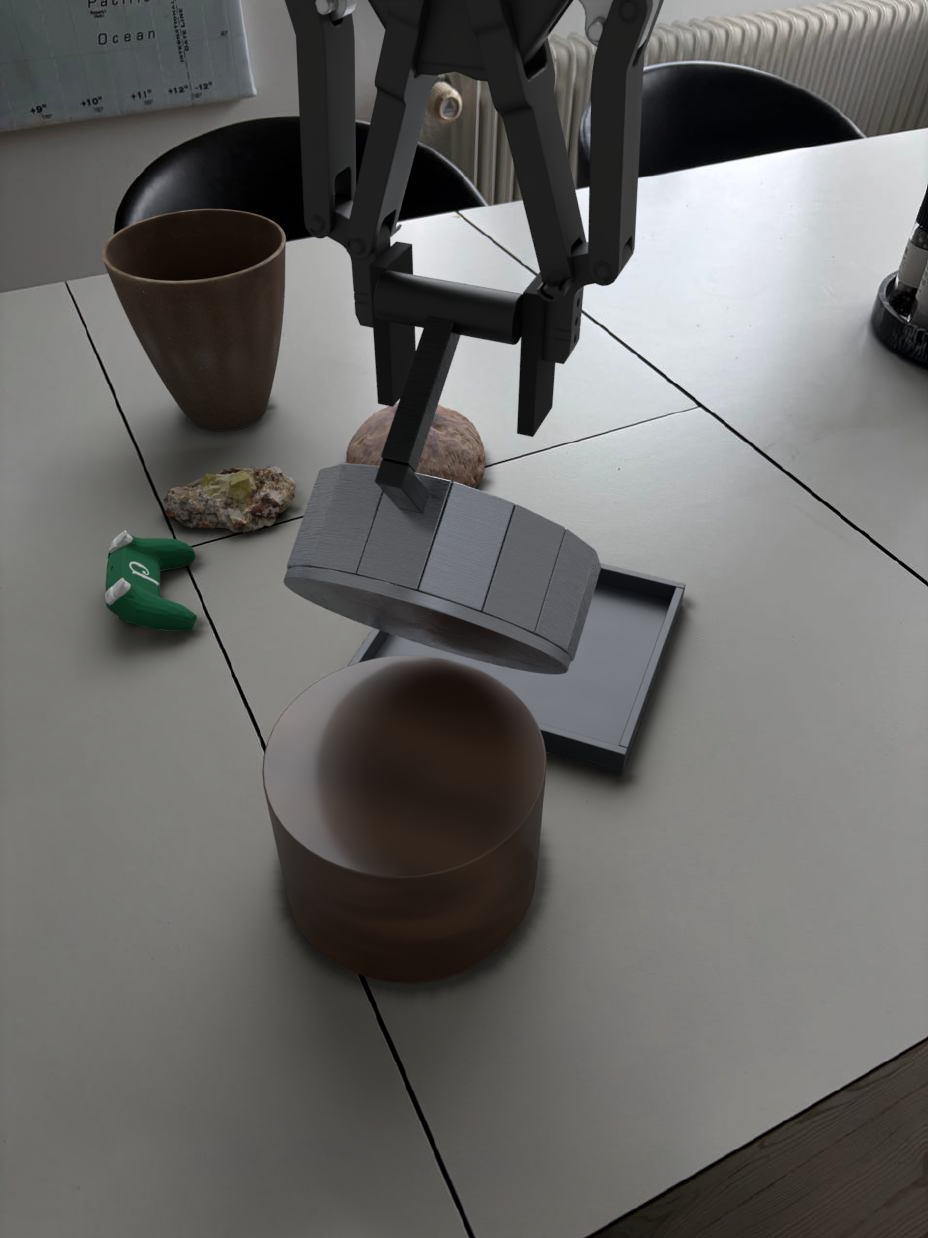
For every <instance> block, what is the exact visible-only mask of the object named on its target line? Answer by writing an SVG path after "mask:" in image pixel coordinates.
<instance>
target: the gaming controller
mask: <svg viewBox="0 0 928 1238" xmlns="http://www.w3.org/2000/svg"><path fill="white" fill-rule="evenodd" d="M195 558H196V553H195V550H194V548H193V547H192V546H191V545H190V544H188V543H187V542H186V541H183V540H180V539H177V538H169V537H139V536H135V535H133V534H129V533H128V531H127V530H125V529H124V531H122V532H121V533H119V534H118V535H117V536H116V537H115V538H113V540H112V541H111V542H110V545H109V547H108V555H107V564H106V573H105V593H104V603H105V607H106V608H107V610H109V611H110V612H111V613H112V614H114V616H116V617H117V618H118V620H120V621H122V622H124V623H126V622H127V623H129V624H132V625H134V626H135V625H136V626H138V627H143V628H148V629H152V630H158V631H159V630H160V631H166V632H167V631H169V632H187V631H188V632H189V631H193V630H194V627H195V624H196V622H197V620H198V617H197V616H198V615H197V614H195V612H193V610H190V609H189V608H187V607H186V606H184V605H183V604H181V603H178V602H175V601H173V600H170V599H168V598H164V597H162V596H161V571H166V570H174V569H181V568H184V567H187V566H190V565H191V564H193V562H194V560H195Z"/></svg>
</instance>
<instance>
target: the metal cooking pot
mask: <svg viewBox="0 0 928 1238" xmlns="http://www.w3.org/2000/svg"><path fill="white" fill-rule="evenodd" d="M522 304H523V293H520V292H514V291H509V290H503V289H497V288H491V287H486V286H482V285H481V286H480V285H475V284H469V283H462V282H459V281H451V280H445V279H440V278H434V277H428V276H423V275H417V274H413V275H412V274H406V273H400V272H394V271H389V270H387V271H384V272H383V273H382V274H381V276H380V277H379V279H378V282H377V285H376V289H375V294H374V309H375V313H376V316H377V317H378V318H379V319H380V320H384V321H389V322H394V323H399V324H405V325H410V326H415V328H416V327H417V328H421V329H422V332H421V335H420V337H419V341H418V343H417V345H416V346H417V347H416V352H415V355H414V358H413V361H412V364H411V367H410V370H409V373H408V376H407V379H406V382H405V385H404V388H403V391H402V394H401V397H400V399H399V400H398V402H397V403H398V406H397V409H396V412H395V415H394V418H393V421H392V424H391V427H390V430H389V433H388V436H387V439H386V442H385V445H384V448H383V451H382V454H381V457H382V459H383V460H382V461H381V464H380V466H373V465H361V464H348V463H347V462H345V463H339V464H337V465H333V466H330V467H325V468H321V469H319V470H318V473H317V475H316V479H315V482H314V485H313V488H312V490H311V493H310V497H309V500H308V502H307V505H306V508H305V510H304V514H303V517H302V520H301V522H300V525H299V529H298V532H297V535H296V538H295V540H294V544H293V546H292V549H291V552H290V555H289V558H288V560H287V564H286V572H285V576H284V578H283V581H282V582H283V584H284V586H285V587H286V588H287V589H288V590H289V591H290V592H293V593H294V594H296V595H297V596H299V597H301V598H302V599H304V600H306V601H308V602H310V603H312V604H314V605H316V606H319V607H320V608H322V609H325V610H327V611H330V612H332V613H334V614H337V615H339V616H342V617H343V618H345V619H346V618H347V619H349V620H351V621H353V622H357V623H359V624H362V625H364V626H367V627H370V628H372V629H373V628H375V629H378V630H381V631H383V632H386V633H389V634H392V635H395V636H398V637H401V638H404V639H407V640H410V641H413V642H416V643H419V644H422V645H425V646H429V647H432V648H435V649H439V650H442V651H445V652H449V653H452V654H456V655H459V656H463V657H467V658H470V659H474V660H478V661H482V662H486V663H490V664H494V665H498V666H502V667H507V668H512V669H517V670H522V671H527V672H534V673H541V674H554V675H556V674H564V673H566V672H567V671H568V669H569V666H570V662H571V661H573V660H574V658H575V655H576V651H577V648H578V644H579V641H580V638H581V634H582V631H583V627H584V624H585V621H586V617H587V614H588V610H589V607H590V604H591V600H592V597H593V593H594V590H595V587H596V583H597V580H598V576H599V573H600V570H601V564H600V563H601V561H600V559H599V555H598V552H597V550H596V549H595V548H593V547H592V546H591V545H590V544H588V543H587V542H586V541H584V540H583V539H581V538H580V537H579V536H578V535H577V534H576V533H574V532H572V531H571V530H570V529H569V528H566V527H565V526H563V525H561V524H559V523H558V522H555V521H553V520H550V519H549V518H547V517H545V516H543V515H540V514H538V513H536V512H534V511H532V510H531V509H528V508H526V507H524V506H522V505H520V504H518V503H515V502H514V501H510V500H508V499H505V498H502V497H499V496H497V495H493V494H491V493H489V492H485V491H482V490H480V489H476V488H471V487H468V486H465V485H462V484H459V483H456V482H453V483H452V481H450V480H445V479H441V478H437V477H432V476H428V475H424V474H419V473H415V472H416V470H417V467H418V464H419V461H420V458H421V455H422V452H423V449H424V446H425V442H426V439H427V436H428V433H429V430H430V427H431V424H432V421H433V418H434V415H435V412H436V409H437V406H438V405H439V403H440V400H441V396H442V393H443V391H444V387H445V384H446V381H447V378H448V375H449V372H450V369H451V365H452V363H453V359H454V356H455V353H456V351H457V347H458V345H459V341H460V338H461V336H464V337H468V338H474V339H478V340H479V339H480V340H485V341H490V342H496V343H501V344H506V345H511V346H516V345H517V344H518V343H519V342H520V341H521V327H522Z"/></svg>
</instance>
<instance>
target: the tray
mask: <svg viewBox="0 0 928 1238" xmlns="http://www.w3.org/2000/svg"><path fill="white" fill-rule="evenodd" d="M600 564H601V570H600V573H599V576H598V580H597V583H596V587H595V590H594V593H593V597H592V600H591V604H590V607H589V610H588V614H587V617H586V621H585V624H584V627H583V631H582V634H581V638H580V641H579V644H578V648H577V651H576V655H575V658H574V660H573V661H571V662H570V666H569V669H568V671H567V672H566V673H564V674H556V675H554V674H541V673H534V672H527V671H522V670H517V669H512V668H507V667H502V666H498V665H494V664H490V663H486V662H482V661H478V660H474V659H470V658H467V657H463V656H459V655H456V654H452V653H449V652H445V651H442V650H439V649H435V648H432V647H429V646H425V645H422V644H419V643H416V642H413V641H410V640H407V639H404V638H401V637H398V636H395V635H392V634H389V633H386V632H383V631H381V630H378V629H375V628H372V629H371V630H370V632H369V633H368V635H367V636H366V637H365V639H364V640H363V642H362V644H360V647H359V648H358V650H357V651H356V653H355V654H354V655H353V657H352V659H351V660H350V662H349V663H348V665H347V667H348V666H351V665H353V664H356V663H359V662H363V661H367V660H371V659H376V658H382V657H389V656H402V655H418V656H431V657H438V658H444V659H448V660H453V661H457V662H460V663H463V664H466V665H469V666H472V667H474V668H476V669H479V670H481V671H483V672H485V673H487V674H489V675H491V676H492V677H494V678H496V679H497V680H499V681H500V682H502V683H503V684H504V685H506V686H507V687H508V688H509V689H511V690H512V691H513V692H514V693H515V694H516V695H517V696H518V697H519V698H520V699H521V700H522V701H523V702H524V704H525V705H526V706H527V708H528V709H529V710H530V712H531V713H532V715H533V716H534V718H535V720H536V722H537V724H538V726H539V728H540V731H541V734H542V736H543V739H544V744H545V750H546V754H550V755H553V756H557V757H560V758H564V759H567V760H570V761H573V762H576V763H580V764H583V765H585V766H590V767H594V768H597V769H599V770H604V771H607V772H610V773H614V774H615V775H620V776H623V774H624V770H625V767H626V765H627V763H628V759H629V757H630V753H631V752H632V748H633V745H634V742H635V739H636V736H637V734H638V731H639V728H640V725H641V723H642V719H643V716H644V713H645V710H646V708H647V705H648V702H649V699H650V697H651V695H652V691H653V688H654V685H655V682H656V679H657V676H658V673H659V671H660V668H661V665H662V663H663V659H664V657H665V653H666V650H667V647H668V645H669V643H670V640H671V636H672V634H673V631H674V628H675V625H676V622H677V619H678V616H679V615H680V611H681V608H682V606H683V601H684V597H685V590H686V586H687V585H686V583H683V582H680V581H675V580H671V579H667V578H663V577H659V576H655V575H651V574H646V573H643V572H638V571H635V570H630V569H627V568H622V567H619V566H614V565H610V564H606V563H602V562H600Z"/></svg>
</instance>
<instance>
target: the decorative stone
mask: <svg viewBox="0 0 928 1238" xmlns="http://www.w3.org/2000/svg"><path fill="white" fill-rule="evenodd" d="M398 403H399V402H397V403H396V404H395V405H394V406H393V407H391V406H386V407H384V408H381V409H380V410H378V411H376V412H374V413H373V414H372V415H371V416H369V417H368V418H367V419H366V420H365V421H364V422H363V423H362V424H361V426H360V427H359V428H358V429H357V431H356V433H354V435H353V436H352V438H351V439H350V441H349V443H348V446H347V449H346V452H345V454H346V458H345V461H346V462H345V463H348V464H361V465H373V466H380V464H381V461H382V460H383V459H382V457H381V454H382V451H383V448H384V445H385V442H386V439H387V436H388V433H389V430H390V427H391V424H392V421H393V418H394V415H395V412H396V409H397V406H398ZM480 435H481V434H480V433H479V431H478V430H477V428H476V426H475V425H474V423H473V422H472V421H471V420H469V418H468V417H466V416H465V415H464V414H462V413H460V412H459V411H457V410H454V409H450V408H447V407H444V406H443V405H441V404H438V406H437V409H436V412H435V415H434V418H433V421H432V424H431V427H430V430H429V433H428V436H427V439H426V442H425V446H424V449H423V452H422V455H421V458H420V461H419V464H418V467H417V470H416V472H415V473H419V474H424V475H428V476H432V477H437V478H441V479H445V480H450V481H452V483H453V482H456V483H459V484H462V485H465V486H468V487H471V488H474V489H476V487H477V486H478V485H479V484H480V483H481V481H482V480H483V478H484V475H485V469H486V453H485V446H484V443H483V441H482V439H481V436H480Z"/></svg>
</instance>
